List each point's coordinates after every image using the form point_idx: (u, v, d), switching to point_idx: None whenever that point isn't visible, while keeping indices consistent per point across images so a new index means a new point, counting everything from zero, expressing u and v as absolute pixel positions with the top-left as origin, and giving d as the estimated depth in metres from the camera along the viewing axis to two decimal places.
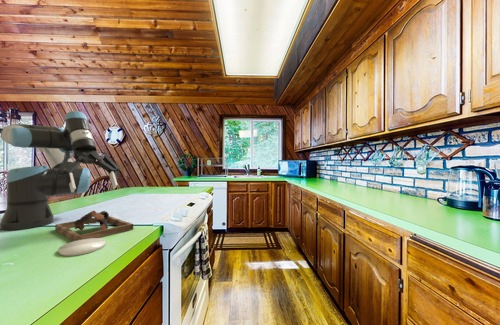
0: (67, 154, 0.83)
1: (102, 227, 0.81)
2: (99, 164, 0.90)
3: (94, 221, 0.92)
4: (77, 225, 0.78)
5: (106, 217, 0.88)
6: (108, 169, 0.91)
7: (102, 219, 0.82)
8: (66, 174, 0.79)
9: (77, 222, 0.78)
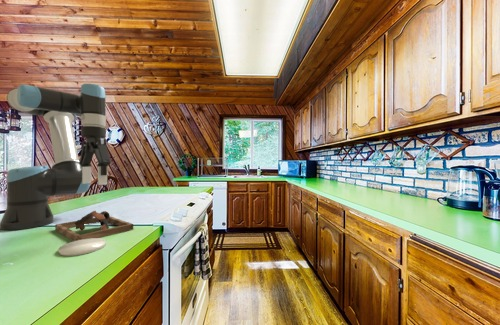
0: (83, 145, 0.86)
1: (103, 227, 0.81)
2: None
3: (94, 221, 0.92)
4: (78, 225, 0.78)
5: (107, 217, 0.87)
6: None
7: (103, 219, 0.82)
8: None
9: (78, 222, 0.78)
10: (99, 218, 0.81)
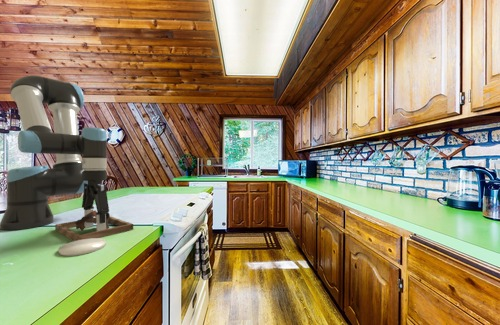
0: (84, 187, 0.86)
1: None
2: None
3: (94, 221, 0.92)
4: (78, 225, 0.78)
5: (107, 217, 0.88)
6: None
7: None
8: None
9: (78, 222, 0.78)
10: None
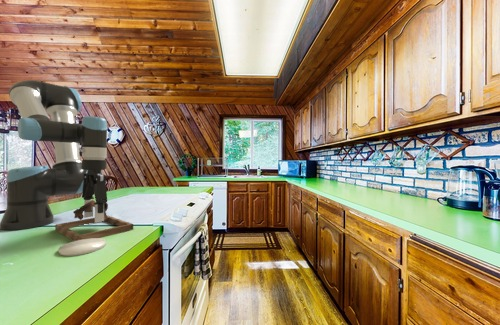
0: (84, 177, 0.86)
1: None
2: None
3: (94, 221, 0.92)
4: (77, 214, 0.79)
5: (105, 207, 0.88)
6: None
7: None
8: None
9: (77, 211, 0.79)
10: None
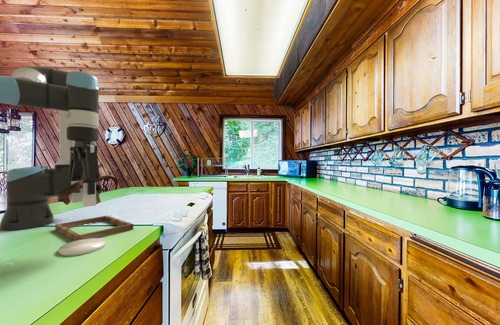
0: (70, 152, 0.68)
1: None
2: None
3: (94, 221, 0.92)
4: (60, 196, 0.61)
5: (98, 190, 0.71)
6: None
7: None
8: None
9: (60, 192, 0.61)
10: None
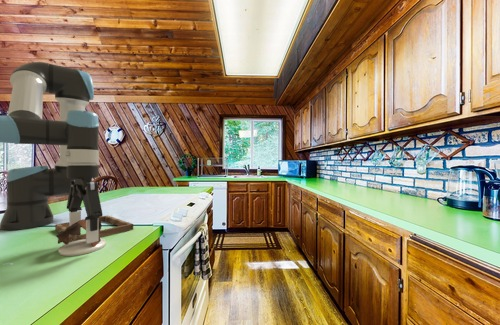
0: (70, 185, 0.68)
1: None
2: None
3: None
4: (61, 239, 0.61)
5: None
6: None
7: None
8: None
9: (61, 235, 0.61)
10: None
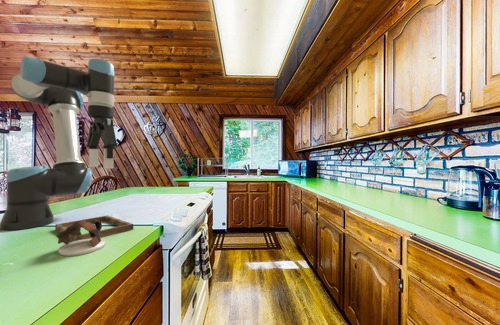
0: (90, 126, 0.81)
1: (94, 240, 0.64)
2: None
3: None
4: (61, 239, 0.61)
5: (98, 227, 0.71)
6: None
7: (93, 230, 0.65)
8: None
9: (61, 235, 0.61)
10: (88, 229, 0.64)
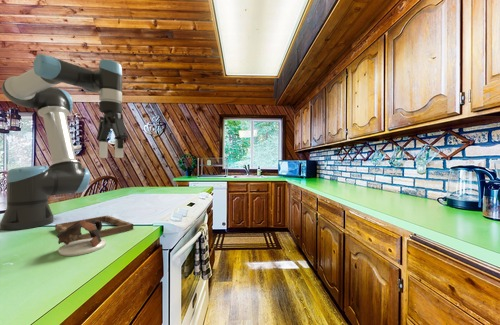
0: (100, 120, 0.89)
1: (94, 241, 0.64)
2: None
3: None
4: (61, 239, 0.61)
5: (99, 227, 0.71)
6: None
7: (94, 230, 0.65)
8: None
9: (61, 235, 0.61)
10: (89, 229, 0.64)
